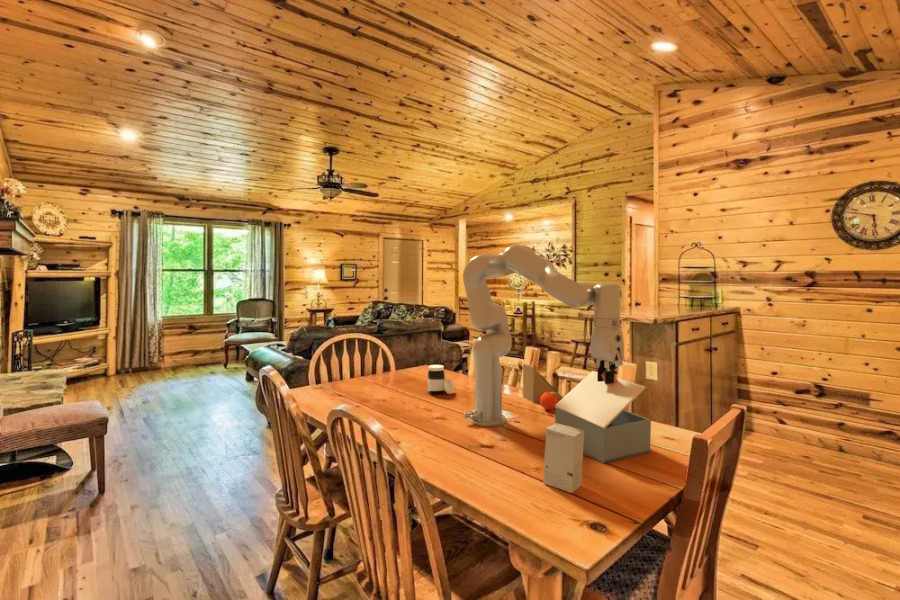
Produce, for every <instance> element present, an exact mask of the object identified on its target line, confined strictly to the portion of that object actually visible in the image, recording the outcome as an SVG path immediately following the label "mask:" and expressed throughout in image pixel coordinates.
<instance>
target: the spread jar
mask: <svg viewBox="0 0 900 600" xmlns="http://www.w3.org/2000/svg"><path fill="white" fill-rule="evenodd" d="M444 370H445V369H444V365H441V364H430V365H428V371H427V392H428V393H429V394H432V395H440V394H443V393H445V392H446V393H447V394H448V395H451V394H453V393H454V384H453V382H452V380H451V378H448V377H447V378H446V373H445V371H444Z"/></svg>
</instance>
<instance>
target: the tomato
mask: <svg viewBox="0 0 900 600" xmlns="http://www.w3.org/2000/svg"><path fill="white" fill-rule="evenodd" d="M555 394H557V393H555ZM555 394H554V392H545V393H544V394H542V396H541V398H540V402H539V403H540V405H541V407H542V408H543V409H545V410H548V411H551V410H555V405H556V404H557V403H558V402H559V400H558V398H557V396H556V395H555ZM557 395H558V394H557ZM560 398H561V397H560Z"/></svg>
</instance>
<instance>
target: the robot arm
mask: <svg viewBox="0 0 900 600" xmlns="http://www.w3.org/2000/svg"><path fill="white" fill-rule="evenodd" d="M513 274H519V275H520V276H522V277H524V278H526V279H527V280H529V281H531V282H533V283H534V284H536V285H537V286H538V287H540V288H541V289H542V290H543V291H544V292H546V293H547V294H548V295H550V296H551V297H553V298H554V299H556V300H558V301H560V302H562V303H563V304H565V305H567V306H569V307H572V308H575V309H576V308H582V307H587V306H593V327H592V332H591V336H590V356H589V357H590V359H591V360H592V361H593V362H594V364H595V368H596V369H597V372H598V374H597V381H599V382H601V381H604V380H603V378H602V376H601V374H602V373H604V372H605V384H611V383H614V374H615V372H616V371H617V369H618V367H622V366H623V365H624V364H623V361H624V358H625V346H624V345H625V342H624V335H623V331H622V328H620V326H621V325H622V322H621V321H620V320H621V313H620V312H621V286H620V285H619V284H617V283H609V282H608V283H593V282H585V281H582V282H577V281H575V280H573V279H571V278H569V277H568V276H565V275H564V274H562V273H560V272H559V271H558V270H557V269H556V268H555V266H554V264H553V262H551V261H550V260H549V259H548V260H547V258H544V257H542V256H540V255H538V254H537V253H535V251H534V250H533V248H531V247H530V246H528V245H524V244H523V245H522V244H521V245H520V244H513V245H510V246H508V247H506V248H505V250H504V251H503V252H501V253H498V254H479V255H478V254H477V255H475V256H474V257H472V258H471V259H469V260H468V262H467V263H466V264H465V266H464V269H463V273H462V280H463V285H464V290H465V293H466V299H467V306H468V312H469V316H470V321H471V324H472V327H473V328H474V329H475V330H476V331H479V332H480V331H481V332H484V331H486V334H483V335H481V336H479V337H477V338H476V339H475V341H474V342H473V345H472V355H473V361H474V376H475V377H474V378H475V379H474V383H475V384H474V385H475V386H474V387H475V388H474V389H475V392H474V394H475V395H474V396H475V401H474V402H475V407H474V408H472V410H471V411H470V412H464V413H463V414H462V417H463V419H470V420H471V422H472V423H473V424H474V425H477V426H479V427H490V428H491V427H498V426H502V425H504V424H506V422H507V417H506V416H505V415H504V414H502V413H503V406H502V405H503V395H502V394H503V385H502V384H503V379H502V378H503V377H502V375H503V374H502V373H503V371H502V366H501V361H500V358H502V357H504V356H506V355H507V354H509V352H510V351H511V349H512V344H513V343H512V336H511V331H510V326H509V320H508V315H507V312H506V310H505V308H504V307H503V306H502V305H501V304H498V303H496V302H493V301H492V297H491V295H492V294H491V291H490V288H489V286H488V284H487V279H498V278H503V277H506V276H509V275H513ZM606 370H607V371H606Z"/></svg>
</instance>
